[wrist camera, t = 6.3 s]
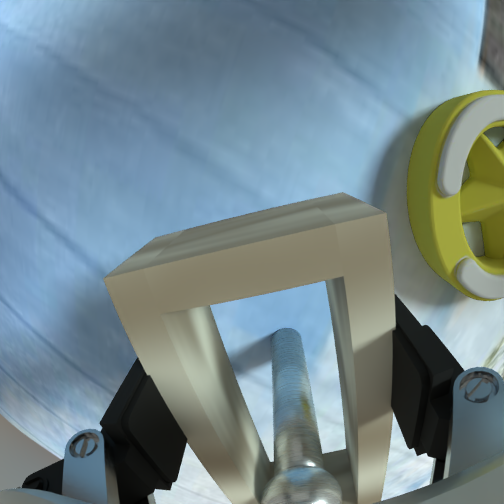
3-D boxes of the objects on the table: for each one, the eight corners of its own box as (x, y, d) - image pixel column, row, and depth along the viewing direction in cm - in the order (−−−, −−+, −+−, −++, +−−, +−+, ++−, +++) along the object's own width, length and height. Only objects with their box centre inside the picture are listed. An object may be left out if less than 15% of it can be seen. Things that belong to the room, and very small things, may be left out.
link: (155, 237, 11) (102, 278, 7) (343, 192, 10) (386, 213, 6) (254, 473, 15) (251, 526, 11) (366, 453, 14) (379, 506, 10)
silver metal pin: (258, 326, 23) (250, 523, 8) (304, 316, 23) (346, 510, 7) (268, 362, 24) (269, 545, 9) (312, 353, 24) (348, 534, 8)
